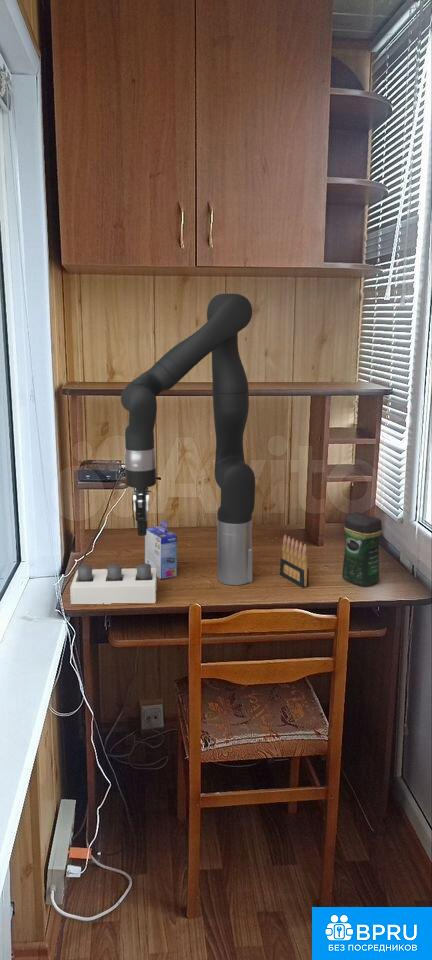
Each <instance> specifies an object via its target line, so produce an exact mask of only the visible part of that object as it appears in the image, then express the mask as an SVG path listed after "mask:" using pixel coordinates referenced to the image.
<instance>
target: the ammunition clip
mask: <svg viewBox="0 0 432 960" xmlns="http://www.w3.org/2000/svg"><path fill="white" fill-rule="evenodd" d="M279 561H280V564H279V566H280V567H279V576H281V577H282V578H284V579H287V580H288V581H289V582H291V583H293V584H295V585H297V586H298V587H301V589H304V588H308V587H309V580H310V579H309V578H310V577H309V575H310V573H309V570H310V569H309V567H308V548H307V545H306V543H304V544H303V542H302V541H300V542H299V540H298V539H296V540H295V538H294V537H292V538H291V536H290V535H288V536H287V535H286V533H285V534H284V535H283V539H282V548H281V557H280V560H279Z"/></svg>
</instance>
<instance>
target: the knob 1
mask: <svg viewBox="0 0 432 960" xmlns="http://www.w3.org/2000/svg"><path fill="white" fill-rule="evenodd" d="M92 569H93V566H92V565H90V564H82V565H79V566H77V570H78V582H93V578H92Z"/></svg>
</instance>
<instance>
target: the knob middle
mask: <svg viewBox="0 0 432 960" xmlns="http://www.w3.org/2000/svg"><path fill="white" fill-rule="evenodd" d="M106 567H107V568H106V569H107V573H108V581H122V569H123V568H122V565H121V564H119V563H113V564H109V565H107V566H106Z"/></svg>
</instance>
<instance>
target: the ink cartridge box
mask: <svg viewBox="0 0 432 960" xmlns="http://www.w3.org/2000/svg"><path fill="white" fill-rule="evenodd" d="M162 525H164V527H163V526H162ZM168 527H169V523H167V522H166V521H163V520H161V522H160V523H159V525H158V526H152V527H147V528H146V529H147V534H146V535H145V536H144V563H146V564H150V565H151V568H157V579H159V580H165V579H169V578H175V577H177V576H178V540H177V539H178V535H177V533H175V532H173V531H171V530H168Z"/></svg>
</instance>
